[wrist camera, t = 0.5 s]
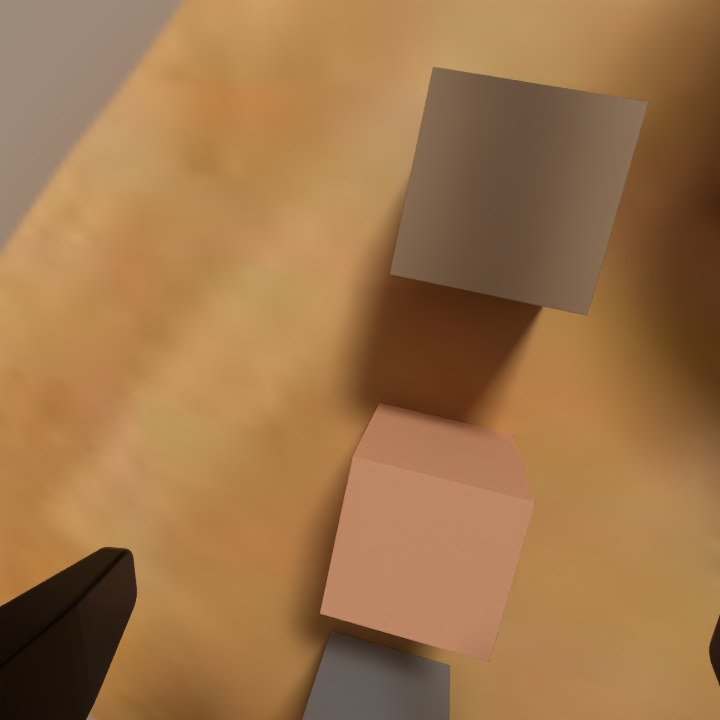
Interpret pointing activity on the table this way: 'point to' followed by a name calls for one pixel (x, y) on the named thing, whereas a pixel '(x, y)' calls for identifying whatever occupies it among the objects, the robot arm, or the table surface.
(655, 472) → the table surface
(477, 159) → the walnut block
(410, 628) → the terracotta block
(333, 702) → the charcoal block
